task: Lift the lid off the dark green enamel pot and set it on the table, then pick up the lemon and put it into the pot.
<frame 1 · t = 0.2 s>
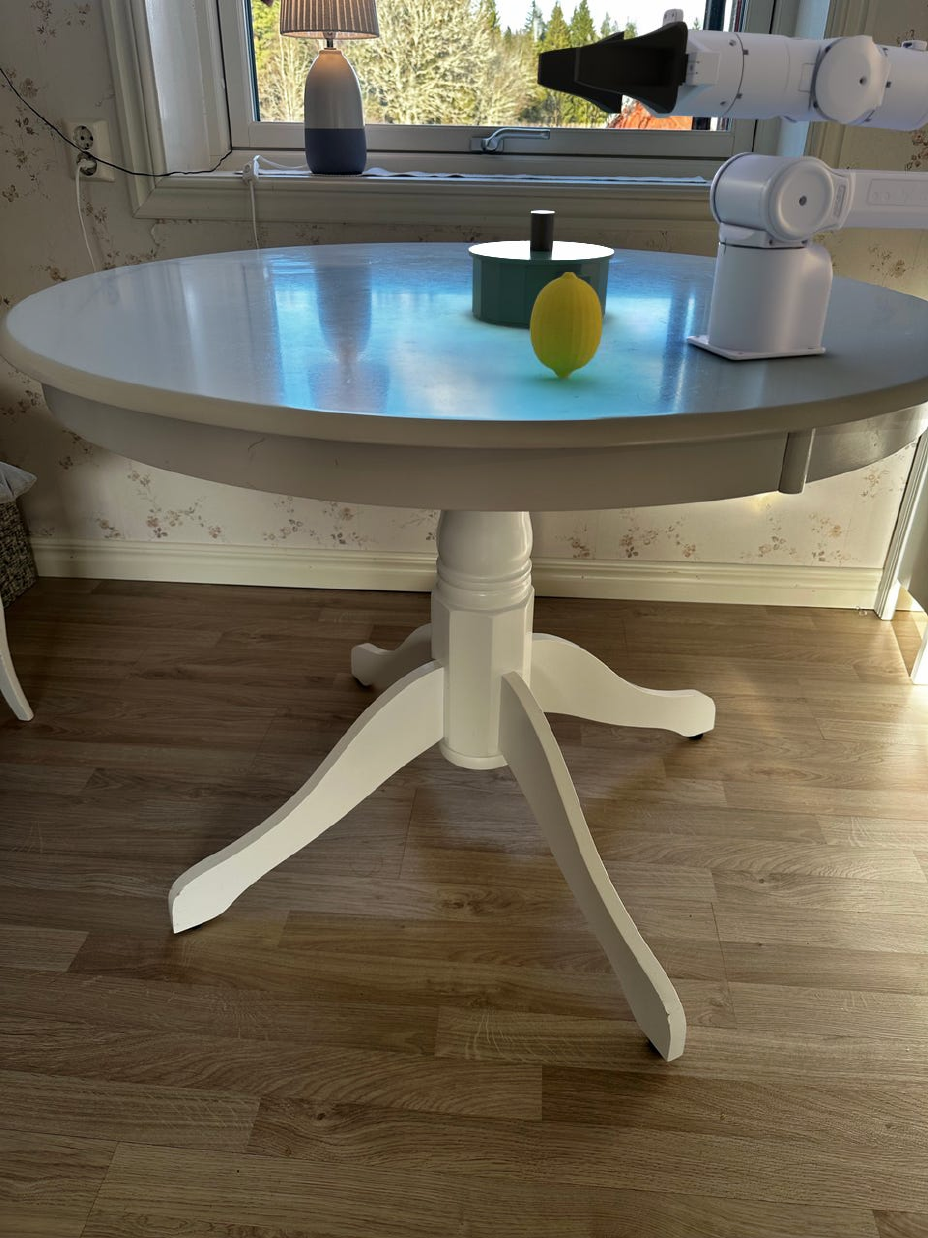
hand: (557, 66, 68), 21 cm above the table, tool horizontal, fingers open, 7 cm apart
pot: (538, 315, 96), on the table
lid: (540, 254, 93), point 6 cm above the table, touching pot
lemon: (562, 381, 73), on the table
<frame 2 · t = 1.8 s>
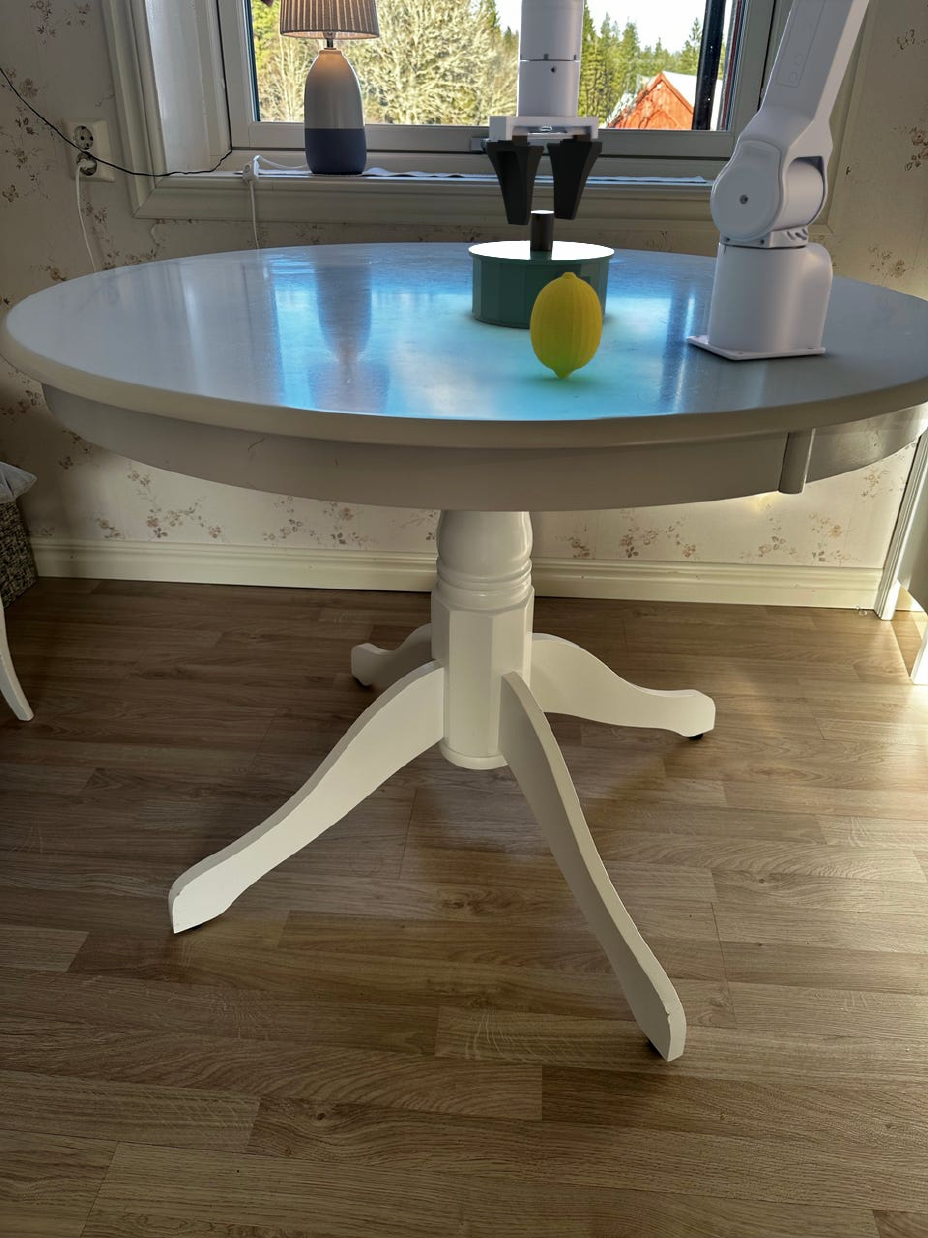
hand: (542, 221, 92), 9 cm above the table, tool pointing down, fingers open, 7 cm apart
nothing on the table moved.
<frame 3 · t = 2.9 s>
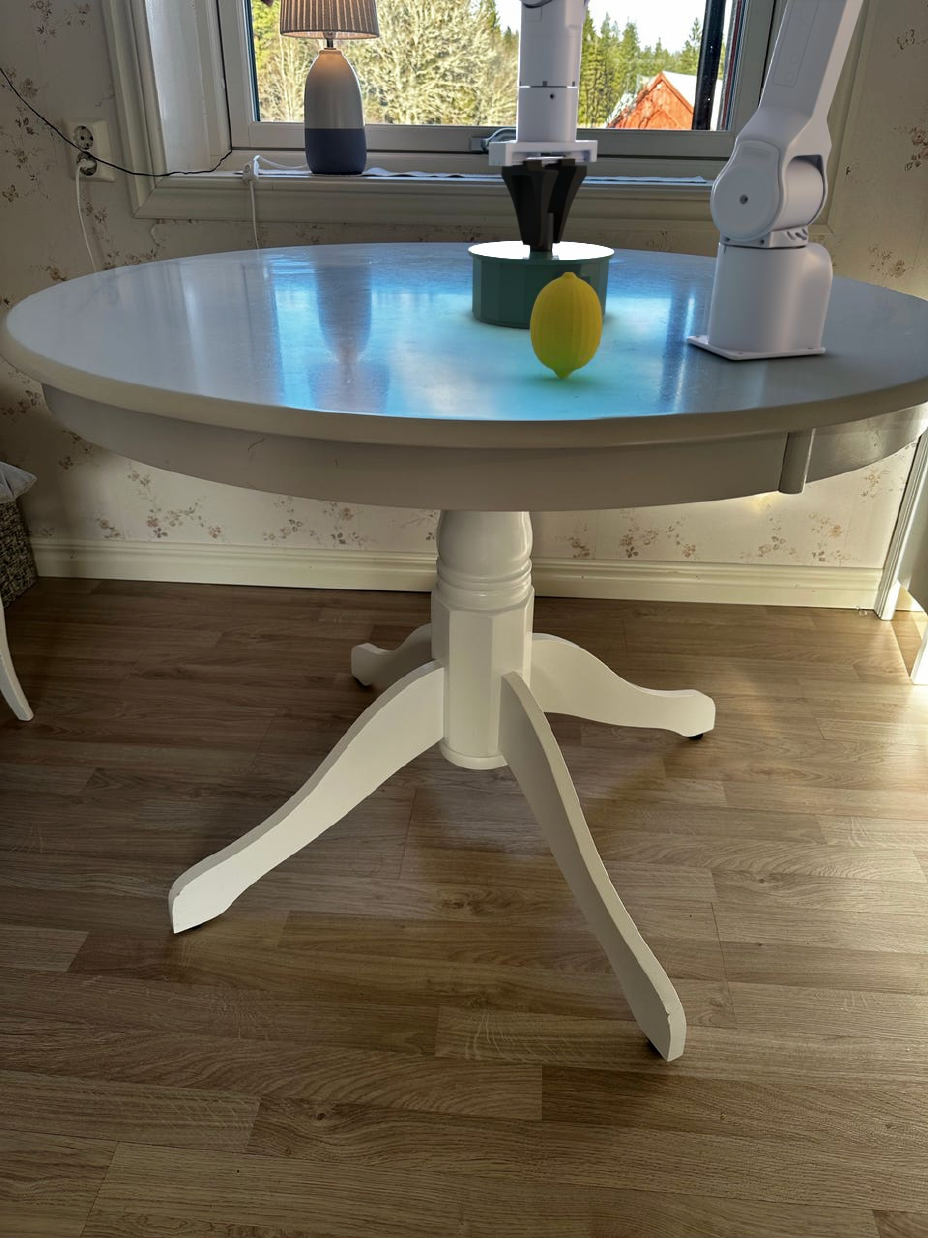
hand: (541, 244, 93), 7 cm above the table, tool pointing down, fingers closed on lid, 2 cm apart
lid: (540, 254, 93), point 6 cm above the table, touching gripper, pot
everything else where it was.
when the fingers open (2 cm above the table, at t = 7.3 s): lid stays where it is, point 1 cm above the table.
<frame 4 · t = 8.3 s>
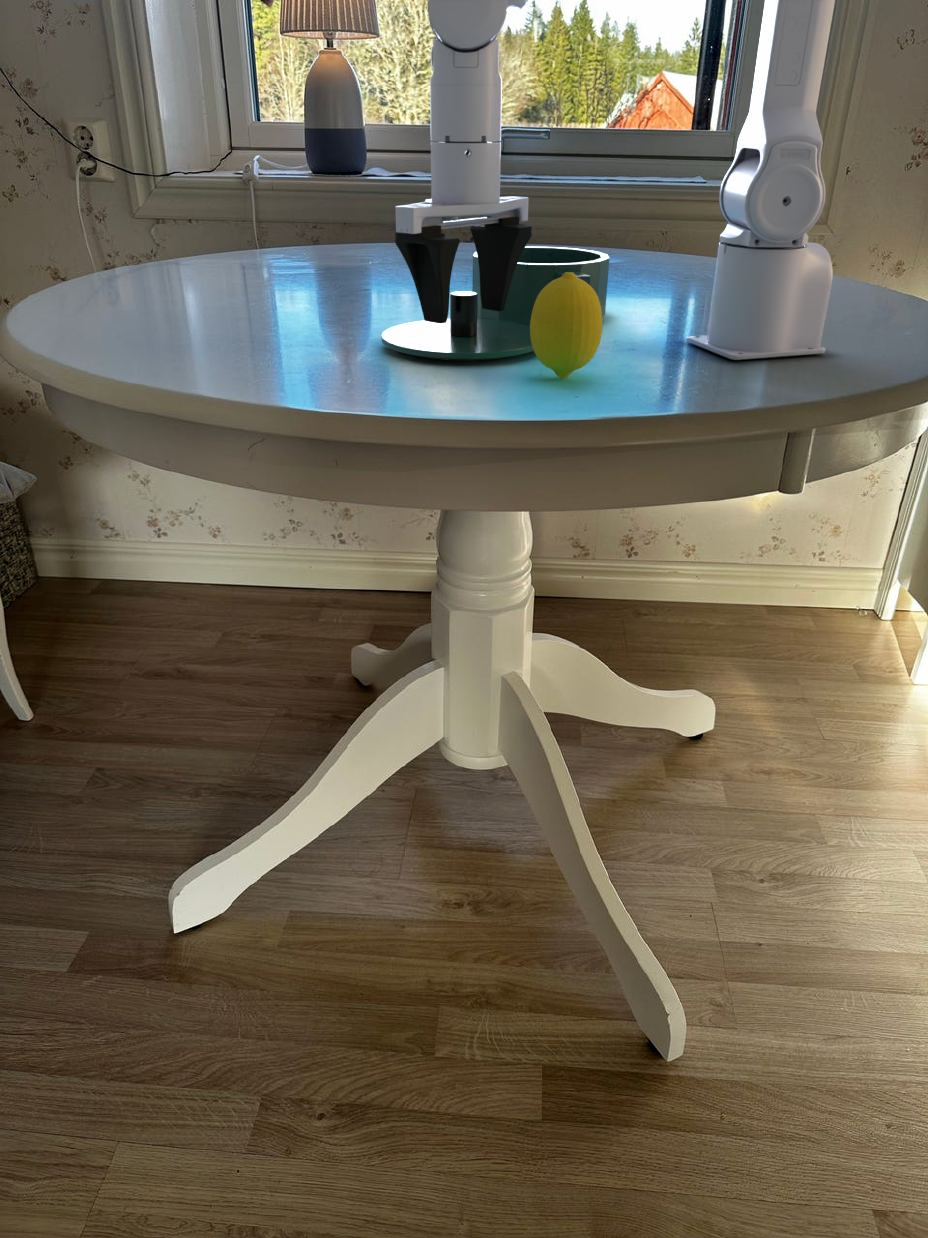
hand: (465, 315, 81), 3 cm above the table, tool pointing down, fingers open, 7 cm apart
lid: (463, 340, 82), point 1 cm above the table
everything else where it was.
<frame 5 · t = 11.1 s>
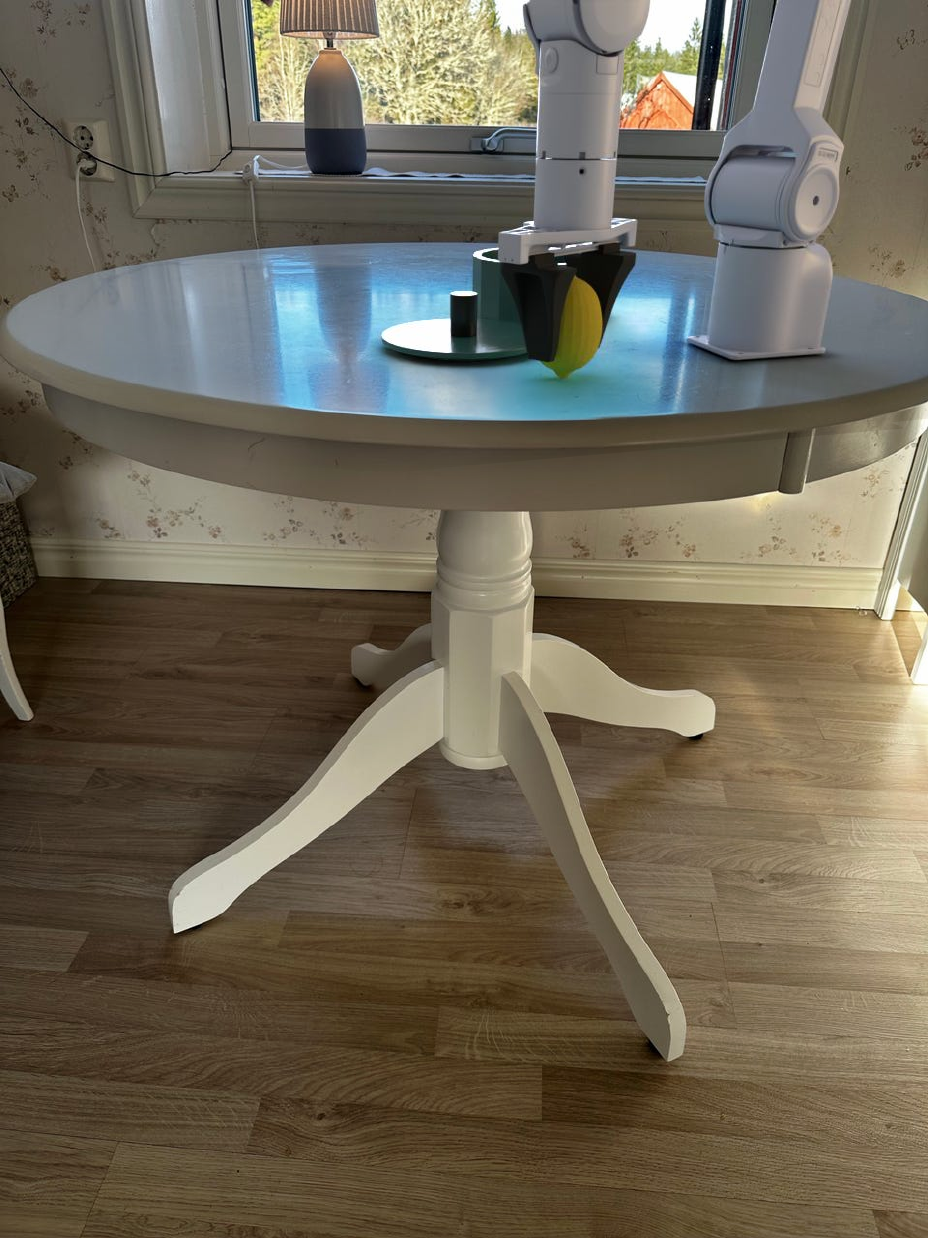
hand: (564, 353, 72), 2 cm above the table, tool pointing down, fingers closed on lemon, 5 cm apart
lemon: (562, 381, 73), on the table, touching gripper
everything else where it was.
when the fingers open (2 cm above the table, at t = 16.9 s): lemon stays where it is, resting on pot.
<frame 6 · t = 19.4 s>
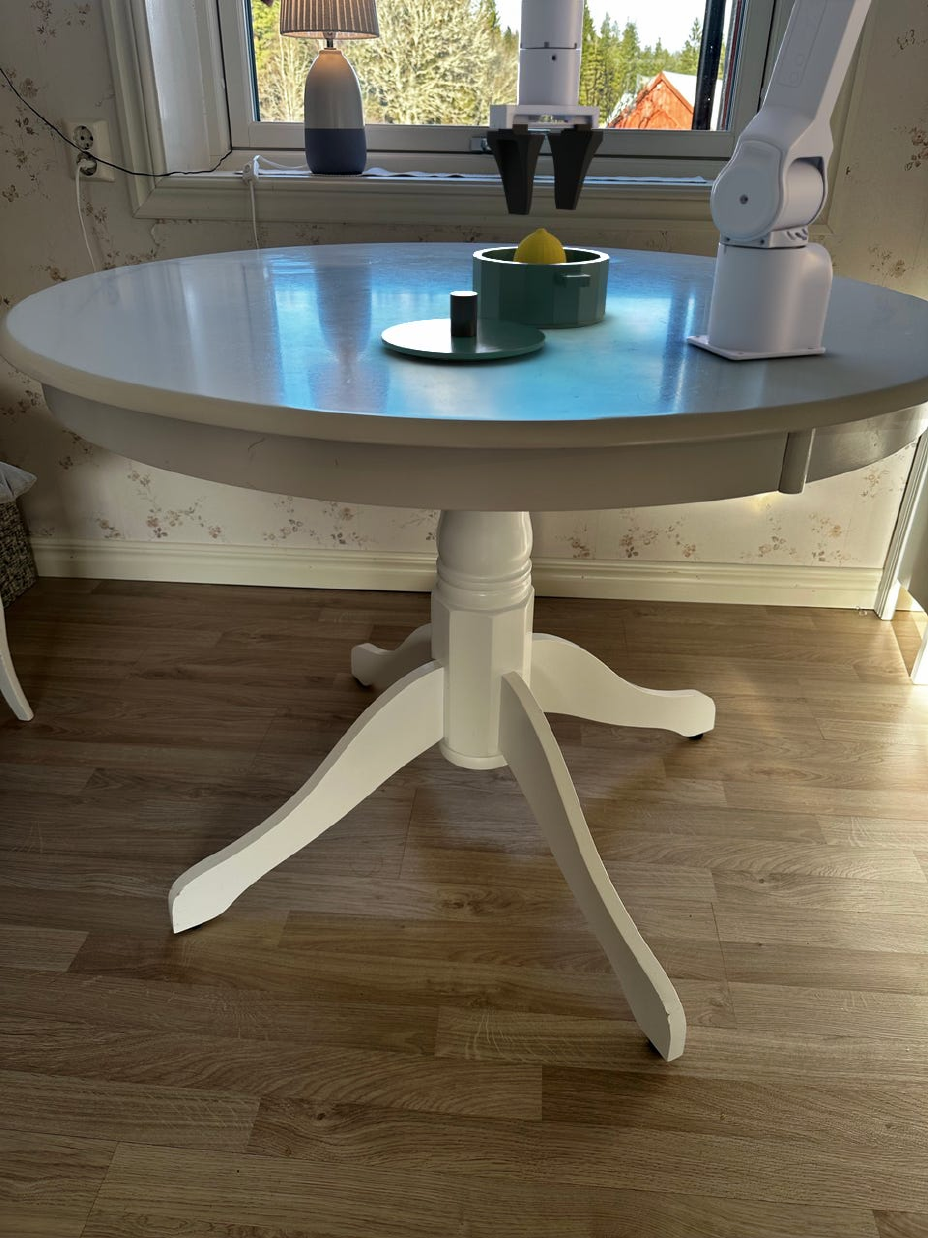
hand: (542, 211, 91), 10 cm above the table, tool pointing down, fingers open, 7 cm apart
lemon: (537, 313, 96), resting on pot
everything else where it was.
at the end: lemon inside the target area in the pot (0.1 cm from its centre), point 0.2 cm above the pot's base; lid inside the target area (0.1 cm from its centre), point 0.6 cm above the table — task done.
